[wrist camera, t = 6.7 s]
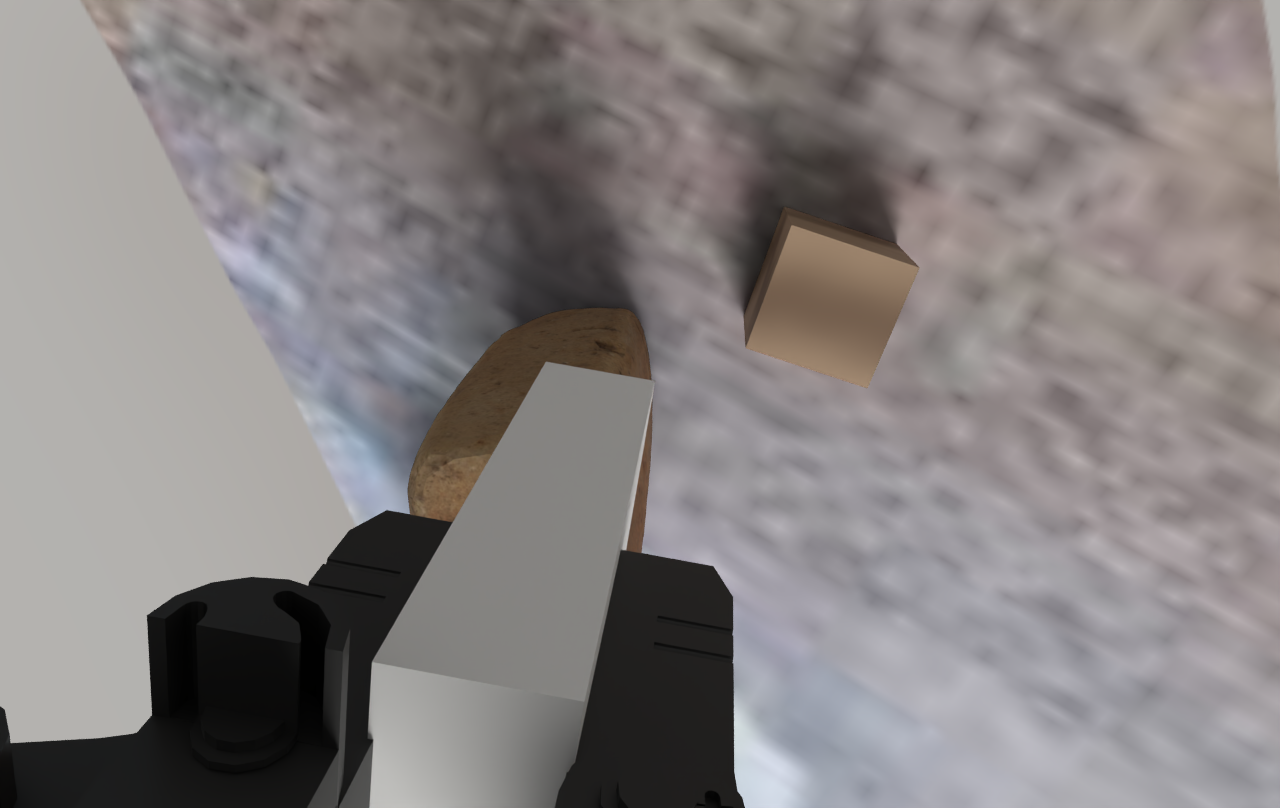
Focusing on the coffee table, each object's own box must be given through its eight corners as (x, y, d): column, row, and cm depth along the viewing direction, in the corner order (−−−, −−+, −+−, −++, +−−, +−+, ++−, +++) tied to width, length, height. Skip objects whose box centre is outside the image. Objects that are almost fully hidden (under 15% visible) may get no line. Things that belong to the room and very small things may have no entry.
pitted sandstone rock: (510, 302, 50) (377, 443, 31) (649, 291, 49) (600, 431, 30) (536, 486, 53) (432, 713, 34) (666, 480, 52) (632, 710, 34)
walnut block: (784, 206, 47) (791, 224, 41) (896, 243, 47) (919, 267, 41) (743, 315, 49) (745, 347, 43) (851, 351, 49) (867, 388, 43)
